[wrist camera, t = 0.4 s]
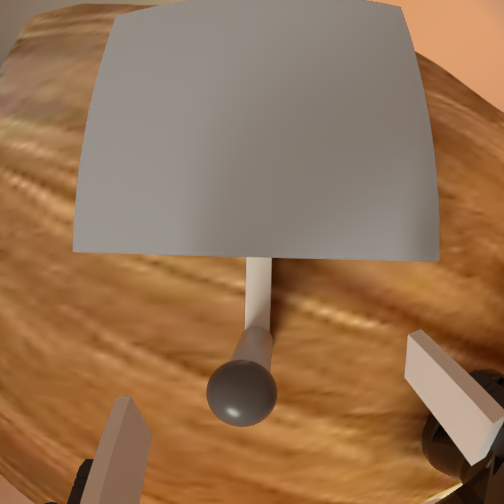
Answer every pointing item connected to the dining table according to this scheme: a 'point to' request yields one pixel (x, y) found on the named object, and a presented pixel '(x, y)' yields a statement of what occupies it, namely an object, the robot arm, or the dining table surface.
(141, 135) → the tunnel
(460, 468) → the robot arm
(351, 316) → the dining table surface
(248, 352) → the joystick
